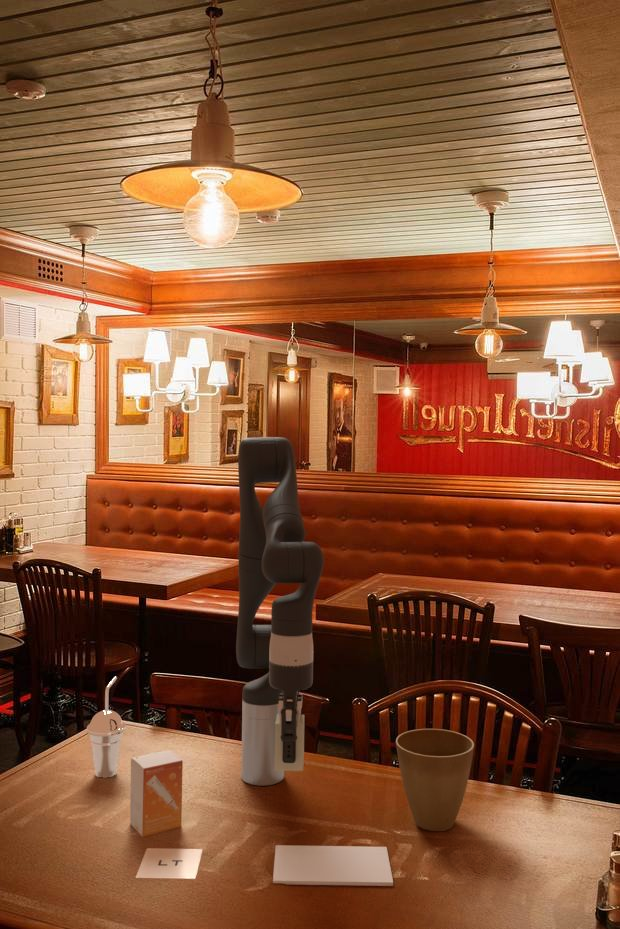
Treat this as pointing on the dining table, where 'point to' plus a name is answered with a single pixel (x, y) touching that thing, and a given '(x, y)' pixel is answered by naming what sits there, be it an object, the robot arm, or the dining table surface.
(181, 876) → the tile
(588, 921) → the dining table surface
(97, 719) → the cup with straw
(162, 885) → the dining table surface
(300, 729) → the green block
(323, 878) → the white rectangular board
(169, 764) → the small box
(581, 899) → the dining table surface
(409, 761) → the plant pot
